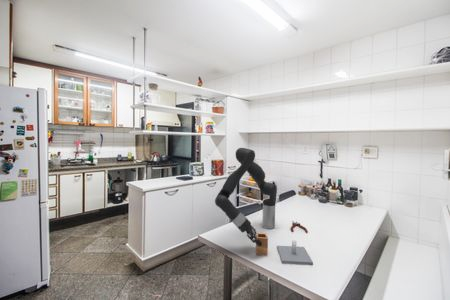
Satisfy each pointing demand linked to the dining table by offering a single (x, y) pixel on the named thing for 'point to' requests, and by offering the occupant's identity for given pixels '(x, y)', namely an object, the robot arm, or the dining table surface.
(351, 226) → the dining table surface
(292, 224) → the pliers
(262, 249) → the collar
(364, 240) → the dining table surface
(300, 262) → the post base
